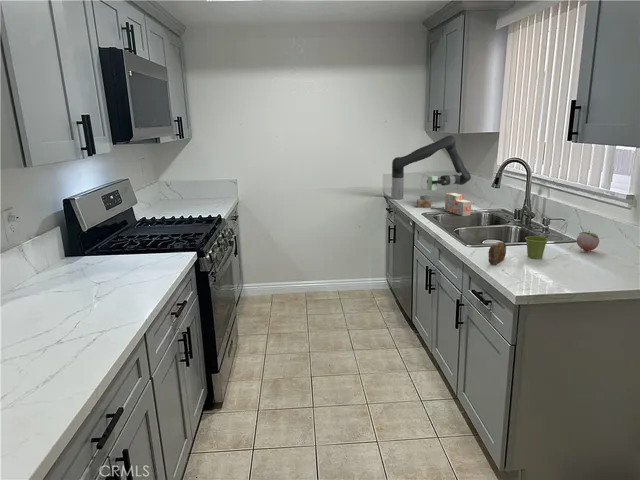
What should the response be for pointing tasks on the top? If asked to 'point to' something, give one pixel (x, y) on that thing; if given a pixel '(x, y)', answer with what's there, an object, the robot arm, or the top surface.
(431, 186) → the sage block
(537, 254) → the plant pot
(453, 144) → the robot arm
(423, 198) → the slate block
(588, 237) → the decorative fruit
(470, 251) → the top surface
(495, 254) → the tin
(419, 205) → the walnut plinth
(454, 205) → the stack of blocks
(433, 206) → the swatch card
